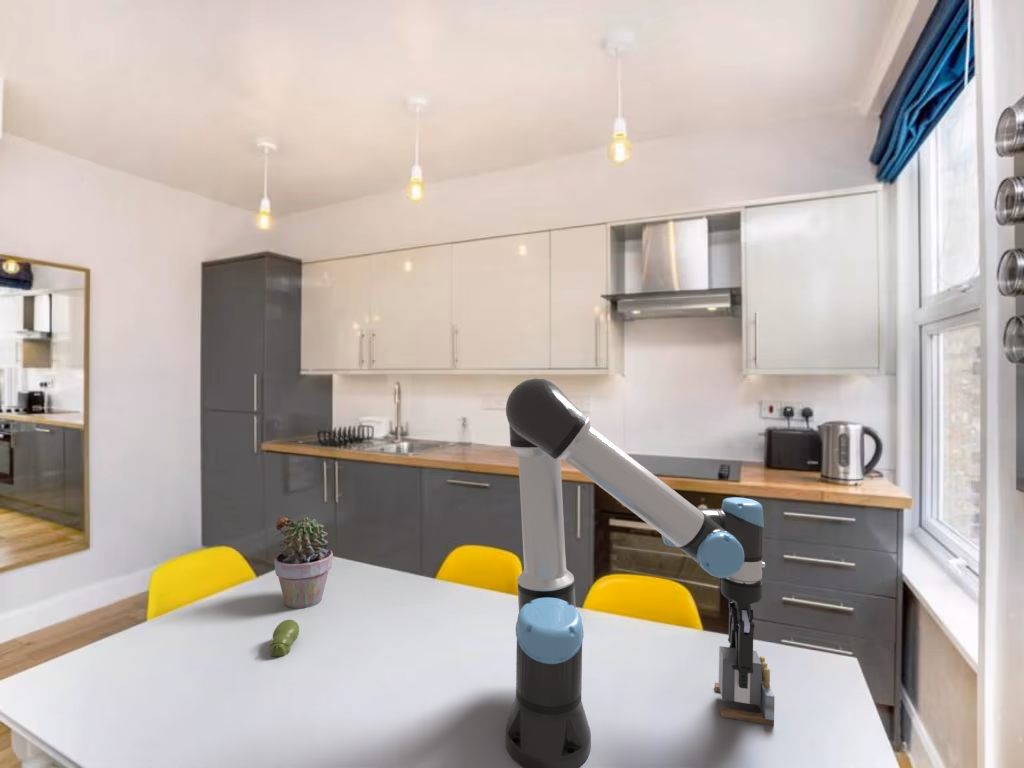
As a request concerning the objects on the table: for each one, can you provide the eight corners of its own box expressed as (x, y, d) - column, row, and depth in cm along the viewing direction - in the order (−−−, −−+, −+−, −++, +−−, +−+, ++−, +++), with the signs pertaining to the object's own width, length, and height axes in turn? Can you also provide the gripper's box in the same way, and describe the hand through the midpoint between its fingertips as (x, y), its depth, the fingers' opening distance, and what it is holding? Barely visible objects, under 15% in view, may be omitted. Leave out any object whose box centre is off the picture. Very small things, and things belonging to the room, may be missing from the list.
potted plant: (354, 595, 153) (355, 511, 153) (296, 621, 136) (297, 526, 136) (315, 582, 162) (316, 502, 162) (256, 604, 146) (257, 516, 146)
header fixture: (773, 725, 97) (774, 678, 97) (721, 716, 100) (722, 670, 100) (762, 694, 107) (763, 651, 107) (714, 687, 109) (715, 644, 109)
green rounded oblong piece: (302, 615, 128) (288, 642, 118) (302, 634, 129) (289, 662, 119) (278, 615, 127) (263, 642, 117) (279, 634, 128) (264, 663, 118)
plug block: (760, 705, 100) (761, 664, 100) (722, 698, 102) (722, 658, 102) (755, 690, 105) (756, 651, 105) (718, 684, 107) (719, 646, 107)
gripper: (772, 597, 94) (770, 725, 94) (752, 563, 111) (750, 671, 111) (728, 592, 95) (725, 717, 96) (715, 560, 113) (713, 666, 113)
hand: (739, 692), depth 103 cm, fingers closed on plug block, 5 cm apart
